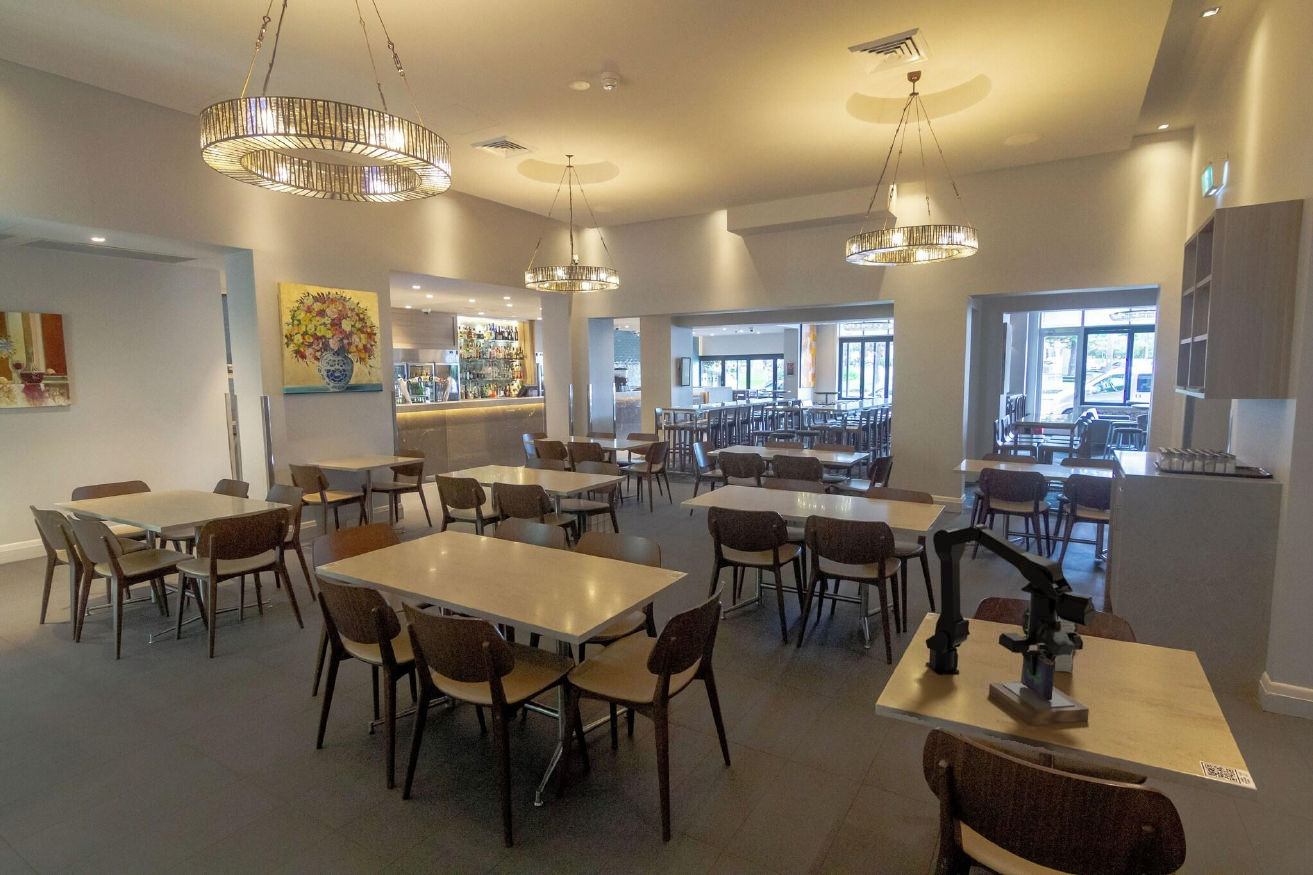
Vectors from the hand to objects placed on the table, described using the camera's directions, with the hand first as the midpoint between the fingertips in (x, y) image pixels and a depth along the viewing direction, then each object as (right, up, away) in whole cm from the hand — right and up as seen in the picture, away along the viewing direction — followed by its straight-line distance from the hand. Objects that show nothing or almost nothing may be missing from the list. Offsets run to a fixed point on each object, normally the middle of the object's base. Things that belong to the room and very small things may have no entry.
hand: (1038, 674), depth 160 cm
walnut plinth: (0, -8, +1) cm, 8 cm away
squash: (+27, -5, +42) cm, 50 cm away
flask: (0, -4, +1) cm, 4 cm away
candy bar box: (+20, -6, +25) cm, 33 cm away
